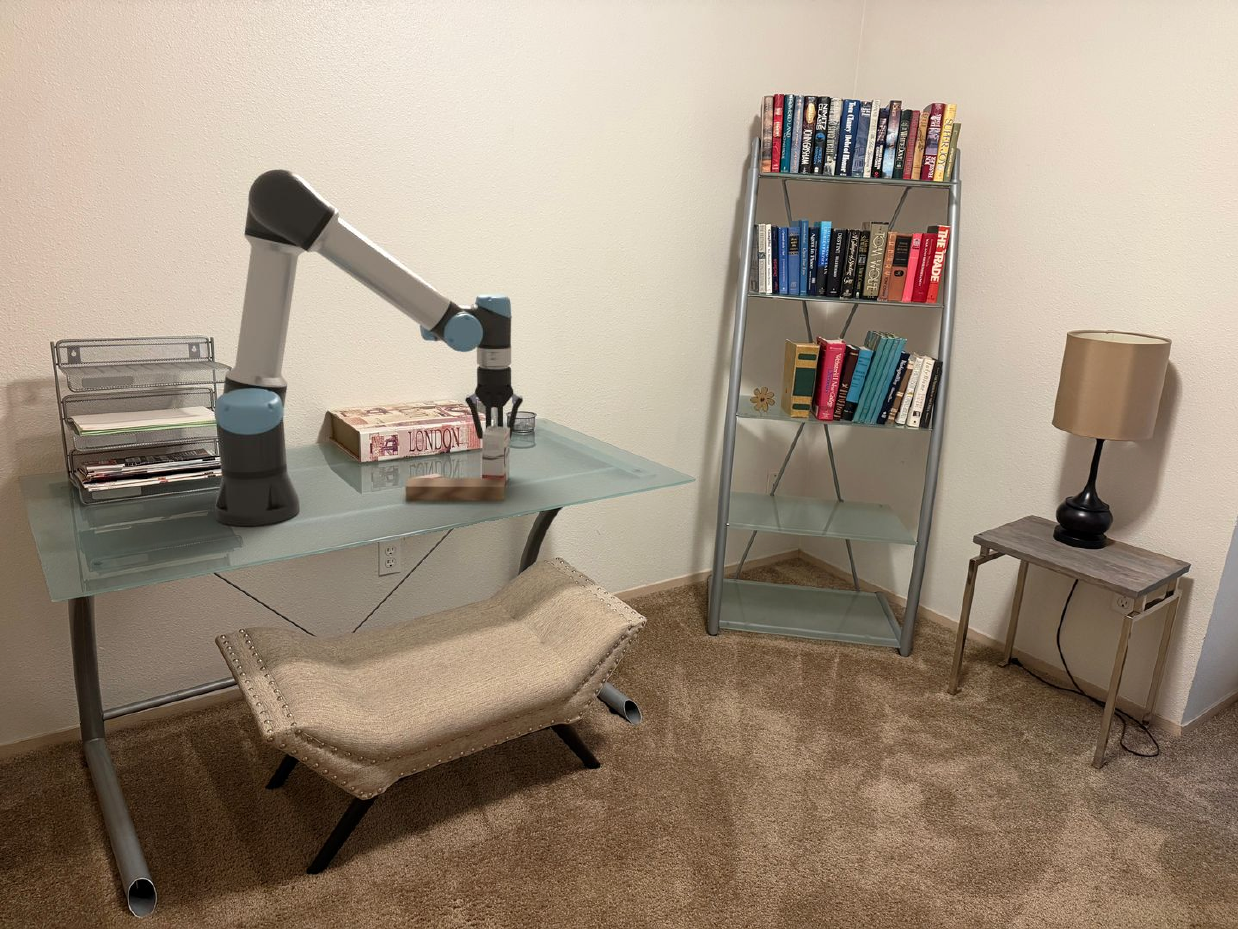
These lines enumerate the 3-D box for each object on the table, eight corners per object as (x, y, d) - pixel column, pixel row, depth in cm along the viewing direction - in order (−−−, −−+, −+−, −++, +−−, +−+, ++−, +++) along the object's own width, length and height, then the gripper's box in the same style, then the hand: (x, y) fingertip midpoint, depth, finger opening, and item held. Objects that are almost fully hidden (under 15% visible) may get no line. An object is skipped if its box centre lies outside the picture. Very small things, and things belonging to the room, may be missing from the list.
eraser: (417, 489, 186) (417, 480, 186) (411, 486, 188) (411, 478, 188) (442, 484, 190) (441, 476, 190) (436, 481, 192) (435, 473, 191)
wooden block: (405, 500, 178) (405, 486, 177) (409, 491, 184) (409, 477, 183) (503, 500, 180) (503, 486, 179) (504, 491, 186) (504, 478, 185)
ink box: (503, 488, 188) (504, 435, 185) (480, 486, 188) (481, 434, 185) (509, 476, 196) (510, 426, 193) (488, 475, 197) (489, 424, 193)
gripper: (462, 368, 187) (464, 473, 193) (524, 369, 188) (523, 473, 195) (465, 362, 194) (466, 463, 200) (524, 363, 195) (523, 463, 202)
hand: (494, 468), depth 198 cm, fingers closed
